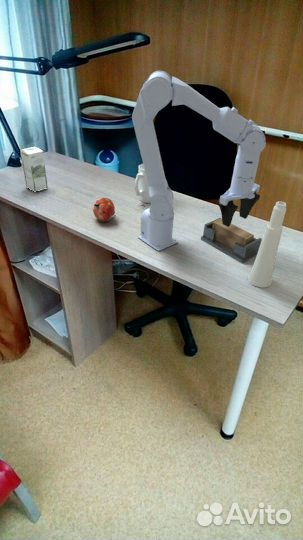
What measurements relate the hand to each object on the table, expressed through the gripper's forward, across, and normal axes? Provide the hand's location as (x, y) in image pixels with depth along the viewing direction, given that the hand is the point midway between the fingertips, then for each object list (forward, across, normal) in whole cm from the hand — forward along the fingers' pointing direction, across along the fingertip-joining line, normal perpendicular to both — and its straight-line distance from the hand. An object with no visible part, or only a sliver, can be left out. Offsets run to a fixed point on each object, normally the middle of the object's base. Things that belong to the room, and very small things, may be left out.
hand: (234, 221), depth 99 cm
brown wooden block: (+7, 0, 0) cm, 7 cm away
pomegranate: (+9, -20, +36) cm, 42 cm away
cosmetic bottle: (+9, -7, -16) cm, 19 cm away
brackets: (+8, 0, 0) cm, 8 cm away
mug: (+9, -1, +38) cm, 39 cm away
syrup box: (+9, -27, +70) cm, 75 cm away
